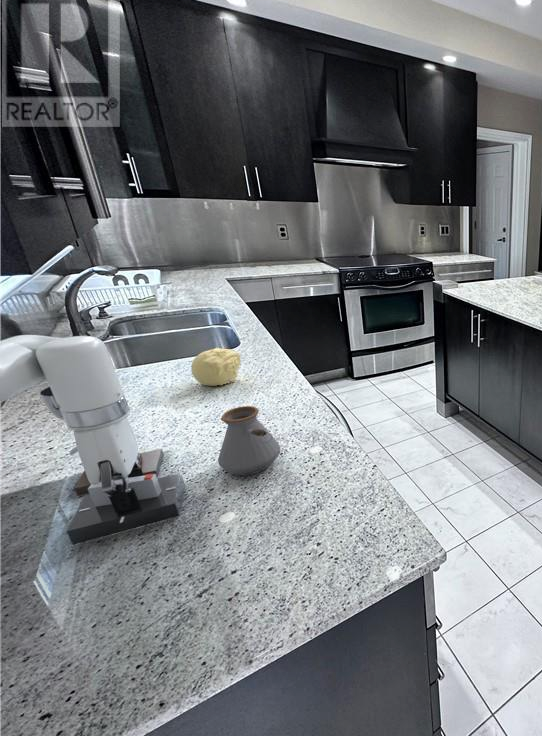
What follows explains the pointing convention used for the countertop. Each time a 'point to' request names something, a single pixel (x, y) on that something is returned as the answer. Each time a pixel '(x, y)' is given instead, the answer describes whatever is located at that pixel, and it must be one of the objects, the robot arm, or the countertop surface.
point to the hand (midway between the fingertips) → (132, 498)
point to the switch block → (148, 464)
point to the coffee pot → (246, 443)
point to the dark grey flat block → (127, 513)
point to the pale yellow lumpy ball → (216, 366)
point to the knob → (141, 484)
